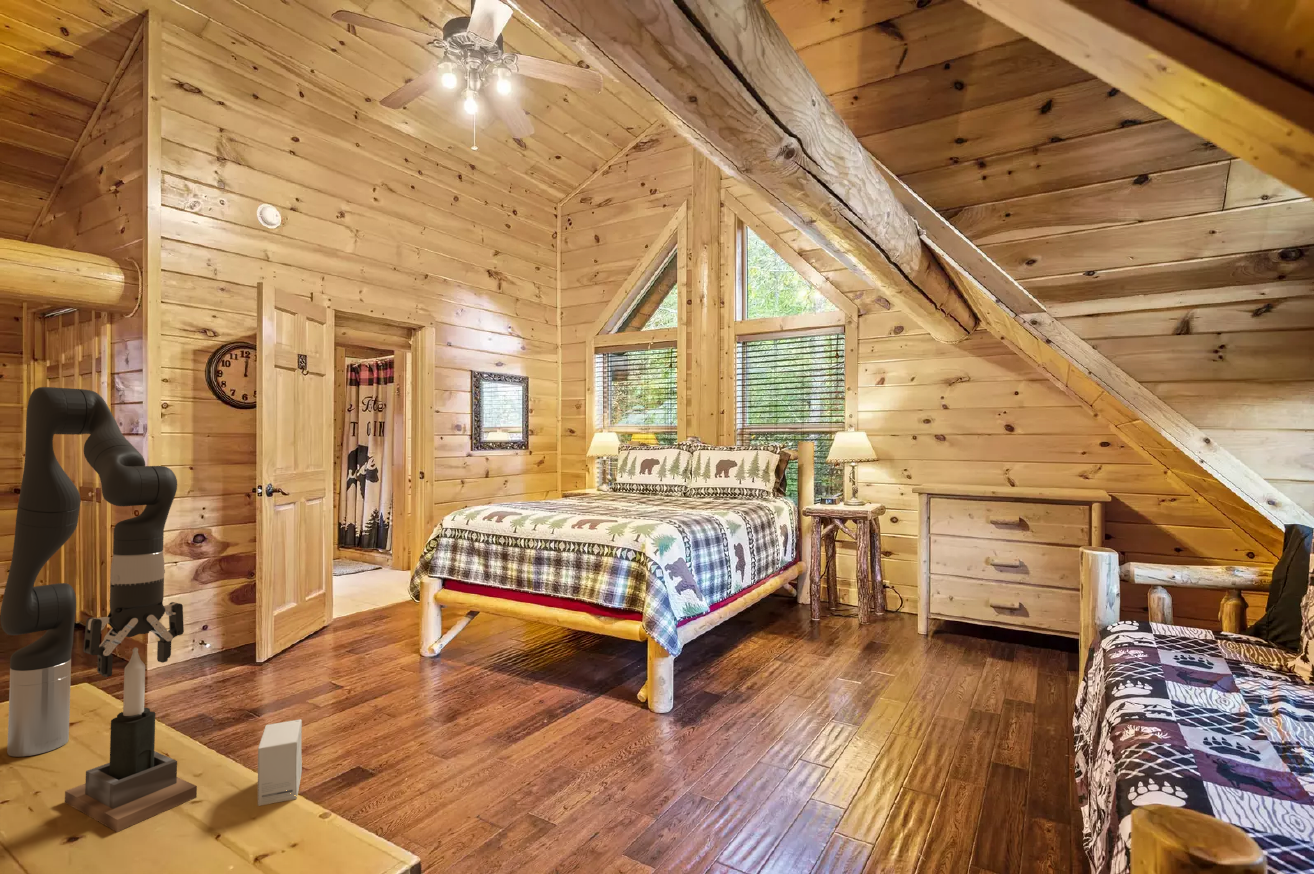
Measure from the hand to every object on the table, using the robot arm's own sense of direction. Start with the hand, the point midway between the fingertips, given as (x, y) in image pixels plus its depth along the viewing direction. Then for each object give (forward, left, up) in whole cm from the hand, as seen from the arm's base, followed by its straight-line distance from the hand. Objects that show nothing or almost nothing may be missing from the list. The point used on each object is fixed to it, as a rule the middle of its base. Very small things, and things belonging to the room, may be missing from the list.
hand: (135, 668), depth 116 cm
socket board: (0, 0, -23) cm, 23 cm away
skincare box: (+19, +15, -24) cm, 34 cm away
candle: (0, 0, -22) cm, 22 cm away
